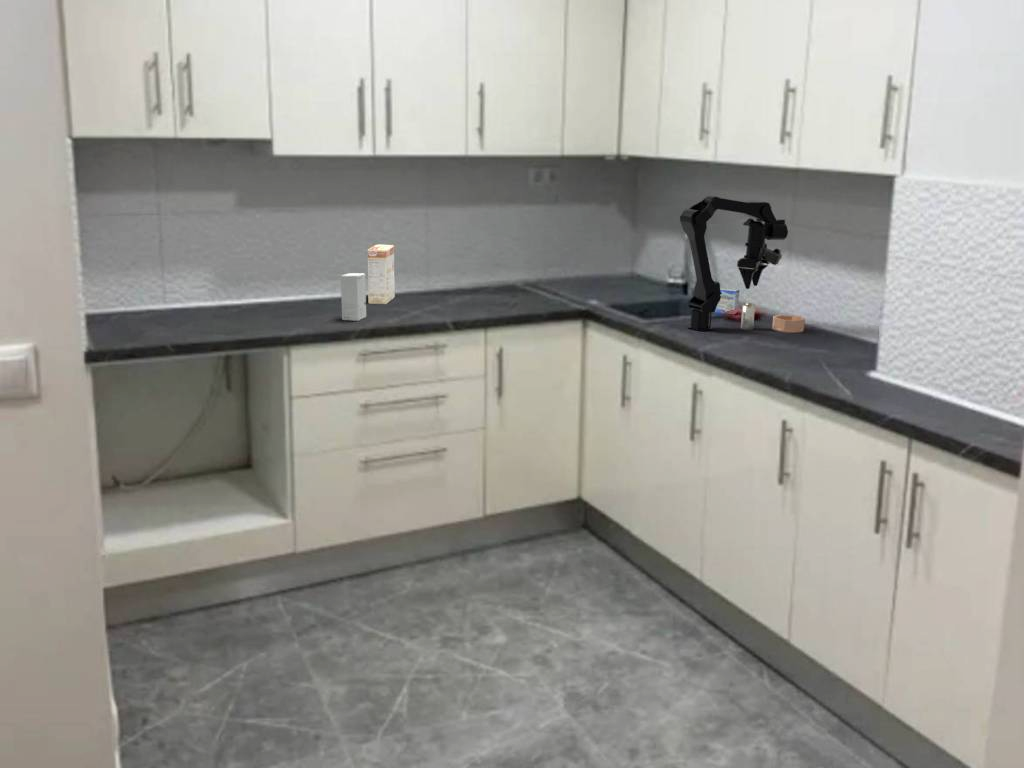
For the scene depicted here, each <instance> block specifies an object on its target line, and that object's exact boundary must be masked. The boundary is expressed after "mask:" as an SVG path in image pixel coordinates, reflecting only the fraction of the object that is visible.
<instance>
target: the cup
mask: <svg viewBox="0 0 1024 768" xmlns="http://www.w3.org/2000/svg"><path fill="white" fill-rule="evenodd" d="M805 322H806V319H805V317H803V316H797V315H791V314H790V315H788V314H778V315H777V314H776V315H773V316H772V328H771V329H772V330H774V331H776V332H780V333H787V334H788V333H789V334H791V333H792V334H794V333H795V334H798V333H799V334H800V333H803V332H804V329H805Z"/></svg>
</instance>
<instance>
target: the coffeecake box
mask: <svg viewBox="0 0 1024 768" xmlns="http://www.w3.org/2000/svg"><path fill="white" fill-rule="evenodd" d="M367 283H368V284H367V289H368V290H367V294H368V295H367V296H368V297H367V298H368V301H367V302H368V304H371V305H372V304H373V305H374V304H375V305H387V304H388V303H390V301H392V300H393V299H394V298H395V297H396V296H395V292H396V291H395V244H381V243H380V244H379V243H378V244H375V245H373V246H372V247H369V248H368V249H367Z"/></svg>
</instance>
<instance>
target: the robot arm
mask: <svg viewBox="0 0 1024 768" xmlns="http://www.w3.org/2000/svg"><path fill="white" fill-rule="evenodd" d="M718 210H721V211H725V212H726V211H727V212H734V213H739V214H742V215H743V216H745V217H748V218H747V220H746V221H744V222H743V223H742V225H743V226H747V227H748V231H747V238H746V239H747V241H746V242H745V244H744V246H745V247H746V251H745V254H743V257H742V258H741V257H740V258H739V259H738V260H737V264H736V267H737V269H738V270H739V273H740V276H741V278H742V281H743V284H744V287H745V289H747V290H750V287H751V285H752V284H753V286H754V287H757V286H758V284H759V281H760V279H761V276H762V273H763V271H764V270H765V269H766V268H767V267H769V264H770V265H774V266H776V265H779V262H780V261H781V259H782V253H781V249H779V248H774V249H770V248H768V244H767V243H766V240H767V241H784V240H786V238H787V237H788V234H789V229H788V226H787V224H786V219H782V218H781V219H780V218H778V219H776V216H775V214H774V213H773V211H772V206H771V204H770V202H766V201H760V200H745V201H740V200H735V199H727V198H723V197H718V196H717V195H716V196H715V195H708V196H706V197H704V198H703V199H702V200H701V201H699V202H697V203H695V204H694V205H692V206H690V208H687V209H684V211H682V212H681V214H680V215H679V221H680V224H681V227H682V230H683V231H684V233H685V235H686V236H687V238H688V240H689V244H690V251H691V257H692V261H693V267H694V271H695V273H694V274H695V277H696V283H695V286H694V295H692V296H691V298H690V299H689V300H688V301H687V303H686V304H687V307H688V309H690V310H691V313H690V314H691V316H690V325H688V326H686V329H689V328H691V329H690V330H694V329H696V330H695V331H698V330H700V331H699V332H704V331H709V330H710V331H712V330H714V329H715V328H714V327H712V326H711V325H712V313H713V312H715V310H716V307H717V305H718V303H719V301H720V299H721V295H720V294H722V293H721V290H720V288H721V283H720V281H719V282H718V281H715V280H714V279H713V277H712V272H711V271H712V270H711V267H710V261H709V255H708V249H707V245H706V240H705V234H706V232H707V225H708V223H707V222H708V221H709V220H710V219H711V218H713V215H714V214H715V212H716V211H718Z"/></svg>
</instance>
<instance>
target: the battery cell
mask: <svg viewBox="0 0 1024 768" xmlns="http://www.w3.org/2000/svg"><path fill="white" fill-rule="evenodd" d="M741 306H742V307H741V319H740V329H741V330H744V331H745V330H747V331H748V330H749V331H751V330H754V323H755V321H754V320H755V312H756V311H755V309H756V305H753V304H752V303H751V302H746V303H745V304H742V305H741Z"/></svg>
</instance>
